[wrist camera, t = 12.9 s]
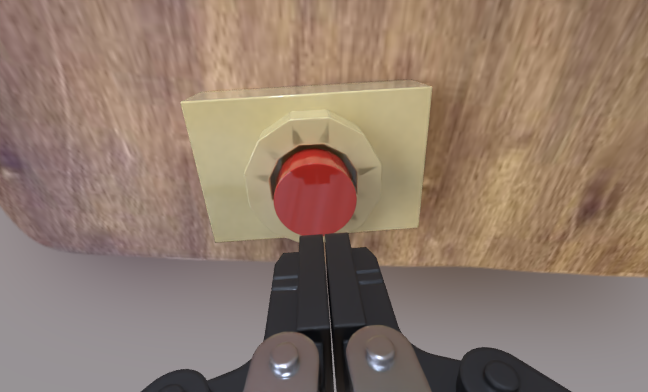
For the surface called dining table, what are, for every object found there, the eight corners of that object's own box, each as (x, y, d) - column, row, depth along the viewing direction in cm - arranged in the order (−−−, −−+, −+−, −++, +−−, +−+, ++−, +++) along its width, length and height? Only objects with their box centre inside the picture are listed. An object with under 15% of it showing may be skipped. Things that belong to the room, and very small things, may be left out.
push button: (281, 217, 16) (278, 240, 14) (272, 150, 14) (268, 166, 13) (351, 212, 16) (357, 234, 14) (350, 145, 15) (357, 160, 13)
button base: (226, 215, 21) (206, 263, 17) (199, 91, 17) (163, 109, 13) (403, 203, 21) (429, 246, 17) (412, 79, 18) (448, 91, 13)
